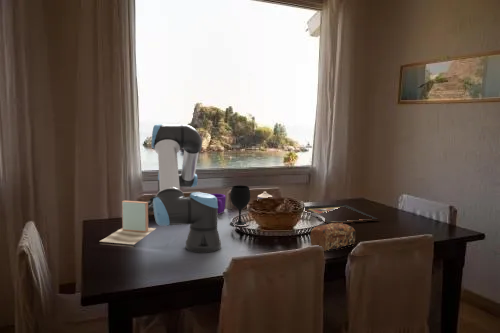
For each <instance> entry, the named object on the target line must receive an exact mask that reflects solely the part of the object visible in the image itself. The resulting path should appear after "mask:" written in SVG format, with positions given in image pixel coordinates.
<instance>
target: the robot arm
mask: <svg viewBox="0 0 500 333" xmlns="http://www.w3.org/2000/svg"><path fill="white" fill-rule="evenodd" d="M202 148H203V140H202V137H201V135H200V133H199V132H198V130H196V128H194V127H193V126H191V125H188V124H173V123H172V124H170V123H169V124H168V123H160V124H159V123H158V124H154V125H153V127H152V133H151V149H153V150H154V151H155V152H156V153H157V155H158V156H157V157H158V158H157V160H158V172H157V193H156V195H154V196H151V197H150V198H149V199H148V201H147V202H148V213H149V212H150V213H152V212H153V215H154V216H153V217H154V219H155V223H156V225H158V226H167V227H169V226H177V225H178V226H181V225H183V226H184V225H189V232H188V234H187V239H186V241H185V249H186V250H188V251H190V252H193V253H199V254H202V253H212V252H217V251H218V250H220V249H221V248H222V240H221V239H220V234H219V231H218V214H217V213H218V202H217V198H216V197H215V196H214V195H211V194H212V193H206V192H200V191H198V192H196V191H195V192H190V194H189V196H185V194H184V191H182V190H181V188H194V187H195V188H196V187H197V186H198V181H199V180H198V174H197V173H196V172H197V165H198V164H197V163H198V159H199V153H200V152H201V151H202ZM181 149H183V156H182V157H183V158H182V164H181V171H180V172H181V173H179V165H178V163H179V162H178V153H179V151H180V150H181Z"/></svg>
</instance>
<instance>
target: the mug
mask: <svg viewBox="0 0 500 333" xmlns="http://www.w3.org/2000/svg"><path fill="white" fill-rule="evenodd" d="M210 194H211V195H214V196H215V197H216V198H217V202H218V213H217V215H219V214H222V213H224V212H225V209H226V199H227V197H226V195H225V194H223V193H210Z"/></svg>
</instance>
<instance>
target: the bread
mask: <svg viewBox="0 0 500 333" xmlns="http://www.w3.org/2000/svg"><path fill="white" fill-rule="evenodd" d="M356 233H357V232H356V230H355V229H354V227H353V226H350V225H349V224H343V223H331V224H326V223H325V224H323V225H317V226H316V227H314V228H312V229H311V231H310V235H309V236H310V246H312V245H319V246H322V247H323V248H324V250H325V251H324V252H327V251H326V250H328V251H330V250H329V249H333V248H338V247H342V246H346V245H351V244H355V241H356V235H357V234H356Z"/></svg>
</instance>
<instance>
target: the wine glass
mask: <svg viewBox="0 0 500 333" xmlns="http://www.w3.org/2000/svg"><path fill="white" fill-rule="evenodd" d="M250 201H251V191H250V186H248V185H241V184H239V185H238V184H237V185H233V186H231V190H230V202H231V203H232V205H233V206H234V207H235V208H236V209H238V220H237V221H238V222H236V223H235V224H237V225H244V224H246V222H247V221H245V222H242V221H243V220H242V218H241V217H242V216H241V215H242V210H243V209H244V208H245V207H247V206H248V205H249V203H250ZM232 222H233V221H231V222H229V226H232V227H234V225H233V223H232Z"/></svg>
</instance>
